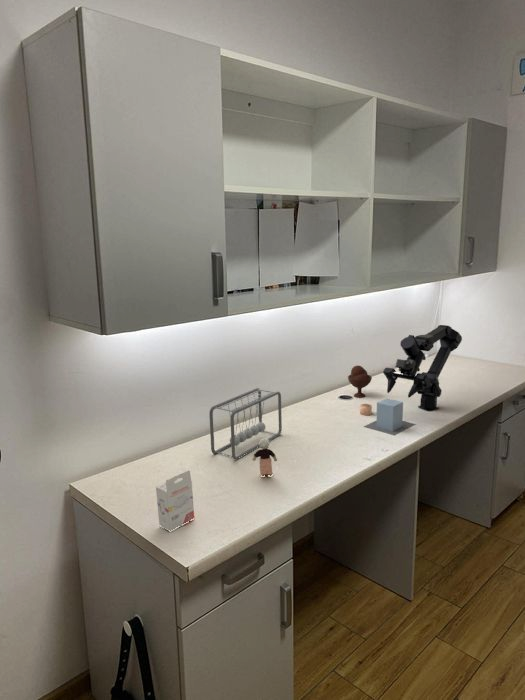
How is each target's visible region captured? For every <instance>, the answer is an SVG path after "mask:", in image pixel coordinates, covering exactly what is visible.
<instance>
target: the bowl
mask: <svg viewBox="0 0 525 700" xmlns="http://www.w3.org/2000/svg"><path fill="white" fill-rule="evenodd" d="M372 407H373V406H372V404H369V403H362V404H360V405H359V414H360V415H361V416H367V417H368V416H371V415H372Z"/></svg>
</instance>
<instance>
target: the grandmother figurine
mask: <svg viewBox="0 0 525 700" xmlns="http://www.w3.org/2000/svg"><path fill="white" fill-rule="evenodd" d="M258 444H259V446H260V448H261V449H258V450H257V451H255V453H254V454H253V458H252V461H253V462H255V461H256V460H257V458H259V472H260V474H261V475H262V476H264V475H265V474H266V475H267V476H268V475H270V476H271V475H272V474H273V473H274V472H273V466H272V465H273V464H272V459H273V461H274V462H277V461H278V458H277V456H276V454H275V452H274V451H272V450H271V449H269V446H270V441H269V440H268V438H266V437H263V438H261V439H260V440H259V442H258ZM271 457H272V458H271ZM260 474H259V475H260Z"/></svg>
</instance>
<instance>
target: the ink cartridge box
mask: <svg viewBox="0 0 525 700" xmlns="http://www.w3.org/2000/svg"><path fill="white" fill-rule="evenodd" d="M191 475H192V474H191V470H189V469H188V470H186V471H184V472H182V473H180V474H177V475H175V476H173V477H171V478H169V479H166V481H165V482H164V483H162V484H160V485H157V486H155V490H156V491H155V492H156V502H157V503H156V504H157V513H158V514H157V515H158V525H161V526H162V527H164V528H166V529H168V530H170V531H171V530H173V529H175V528H176V527H178V526H181V525H182V524H184V523H186V522H188V521H190V520H191V519H193V518H194V519H195V511H194V510H195V508H194V496H193V494H194V492H193V481H192V476H191Z"/></svg>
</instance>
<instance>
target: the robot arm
mask: <svg viewBox="0 0 525 700" xmlns="http://www.w3.org/2000/svg"><path fill="white" fill-rule="evenodd" d="M462 341H463V336H462V335H461V334H460V332H459V331H457V330H455V329H453V328H452V326H451V325H445V324H439V325H438V326H437V327H436V328H434V329H432V330H431V331H429V332H427V333H426V334H419V335H416V336H415V335H414V334H409V335H408V336H406V337H404V338H403V339H402V340H401V341H400V345H399V346H400V348H401V349H402V350H403V352H404V353H405V355H406V356H407V358H406V359H400V358H397V359H396V363H395V368H398V369H397V370H398V371H399V372H397V371H396V369H395V368H391V367H384V369H383V371H382V373H383V375H384V376H385V377H386V379H387V390H386V393H388V394H389V393H390V392H392V390H393V388H394V386H395V385H396V383H397V380H398V378H399V379H404V380H408V381H410V380H411V381H413V384H412V386H411V387H410V390H408V391H409V392H408V395H407V397H408V399H409V398H411V397H412V396H414V395H415V394H416V393H417V394H418V395H420V404H419V405H418V406H417V407H418V408H419V409H422V410H424V411H427V412H430V411H431V412H433V411H436V410H439V409H440V407H439V406H438V405H437V404H438V398H440V397H441V395H442V392H443V391H442V388H441V387H440V381H439V380H440V379H439V376H440V374H441V373H442V371H443V368H444V366H445V364H446V362H447V361H448V358H449V356H450V354H451V353H452V352H453V351H455V350H456V349H458V348H459V346H460V345H461V343H462ZM436 342H437V343H438V342H439V344H440V347H439V349H438V351H437V352H436V355H435V357H434V359H433V361H432V362H431V364H430V367H429V369H428V371H427V372H423V371H422V372H421V373H419V372H420V370H421V369H420V366H421V365H422V362H423V361H426V356H425V353H424V351H425V352H430V351H431V350H433V348H434V344H435V343H436Z"/></svg>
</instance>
